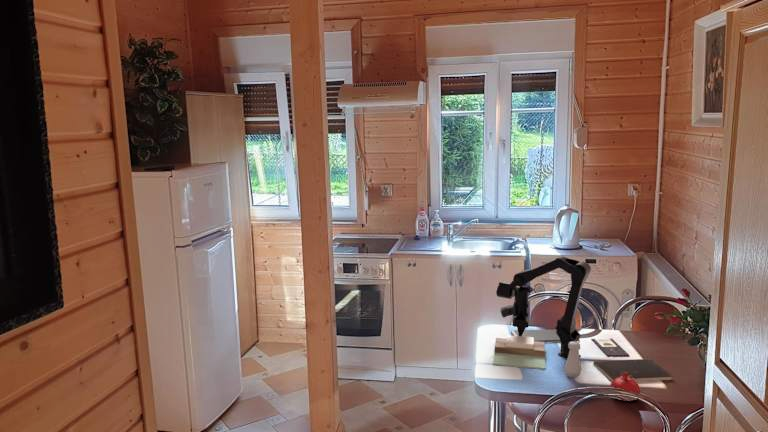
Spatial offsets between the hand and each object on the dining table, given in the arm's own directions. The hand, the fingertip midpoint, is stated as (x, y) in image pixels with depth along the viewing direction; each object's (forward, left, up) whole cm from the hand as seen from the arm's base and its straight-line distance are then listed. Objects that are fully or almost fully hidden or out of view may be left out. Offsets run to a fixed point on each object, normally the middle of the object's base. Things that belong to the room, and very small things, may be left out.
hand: (520, 335), depth 252 cm
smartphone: (+1, -15, -5) cm, 16 cm away
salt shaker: (-32, +5, -4) cm, 33 cm away
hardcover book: (-43, -16, -5) cm, 46 cm away
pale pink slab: (-5, +5, -1) cm, 7 cm away
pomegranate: (-54, +4, -4) cm, 55 cm away
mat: (-12, +12, -4) cm, 18 cm away
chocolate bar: (-23, -29, -5) cm, 37 cm away
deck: (-5, +5, -4) cm, 8 cm away
